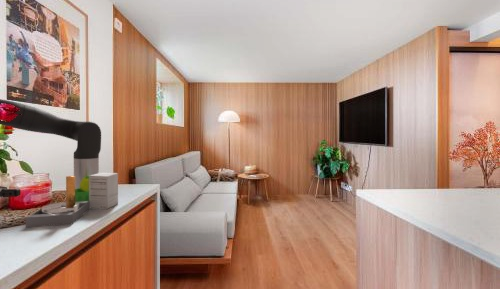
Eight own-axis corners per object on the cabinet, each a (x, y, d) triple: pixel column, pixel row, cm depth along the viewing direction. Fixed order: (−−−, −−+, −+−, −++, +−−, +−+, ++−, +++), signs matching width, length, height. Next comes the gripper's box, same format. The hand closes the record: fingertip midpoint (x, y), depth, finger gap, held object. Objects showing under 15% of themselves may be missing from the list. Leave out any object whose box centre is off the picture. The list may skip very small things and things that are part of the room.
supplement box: (100, 203, 100) (100, 172, 99) (118, 203, 99) (118, 172, 99) (88, 208, 92) (88, 175, 92) (107, 209, 92) (107, 175, 92)
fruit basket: (103, 197, 108) (103, 172, 107) (103, 202, 100) (103, 175, 100) (71, 201, 102) (71, 174, 101) (69, 206, 94) (69, 177, 94)
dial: (33, 214, 79) (33, 177, 78) (64, 206, 88) (64, 172, 88) (58, 218, 76) (58, 179, 76) (87, 209, 86) (87, 174, 85)
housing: (51, 211, 88) (51, 197, 88) (89, 208, 92) (89, 195, 92) (25, 227, 73) (25, 210, 73) (72, 224, 76) (72, 208, 76)
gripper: (-78, 187, 64) (5, 184, 69) (-37, 178, 77) (31, 176, 82) (-78, 215, 65) (5, 211, 70) (-37, 202, 77) (31, 199, 82)
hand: (19, 192), depth 76 cm, fingers closed
